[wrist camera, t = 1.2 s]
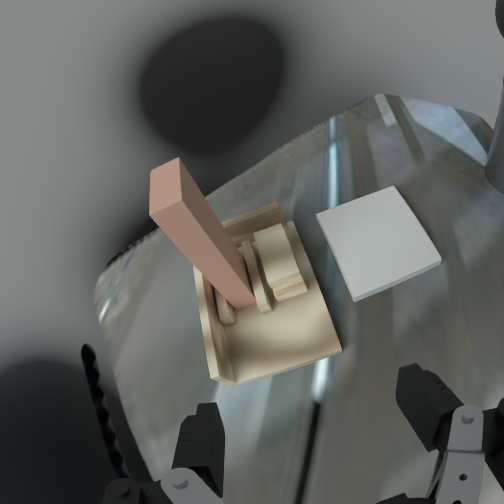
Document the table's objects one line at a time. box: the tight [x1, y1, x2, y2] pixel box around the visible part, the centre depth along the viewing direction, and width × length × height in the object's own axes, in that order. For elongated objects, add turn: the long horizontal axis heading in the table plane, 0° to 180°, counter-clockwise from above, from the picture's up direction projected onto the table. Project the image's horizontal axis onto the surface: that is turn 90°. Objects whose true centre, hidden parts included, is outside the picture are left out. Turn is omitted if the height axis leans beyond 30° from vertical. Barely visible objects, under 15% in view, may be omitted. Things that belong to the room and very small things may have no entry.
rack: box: [193, 200, 342, 386], centre depth 38 cm, size 20×14×6 cm
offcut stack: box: [253, 223, 308, 302], centre depth 39 cm, size 8×4×4 cm, turn 13°
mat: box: [316, 185, 442, 302], centre depth 39 cm, size 14×13×2 cm
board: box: [149, 157, 256, 309], centre depth 33 cm, size 6×3×20 cm, turn 13°
